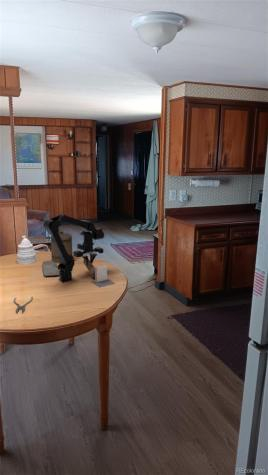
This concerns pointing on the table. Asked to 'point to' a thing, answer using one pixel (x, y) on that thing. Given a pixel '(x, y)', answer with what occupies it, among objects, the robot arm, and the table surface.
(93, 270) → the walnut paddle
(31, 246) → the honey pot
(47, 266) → the stone slab
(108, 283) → the charcoal mat
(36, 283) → the table surface
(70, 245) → the wooden container
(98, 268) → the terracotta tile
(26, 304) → the pliers
